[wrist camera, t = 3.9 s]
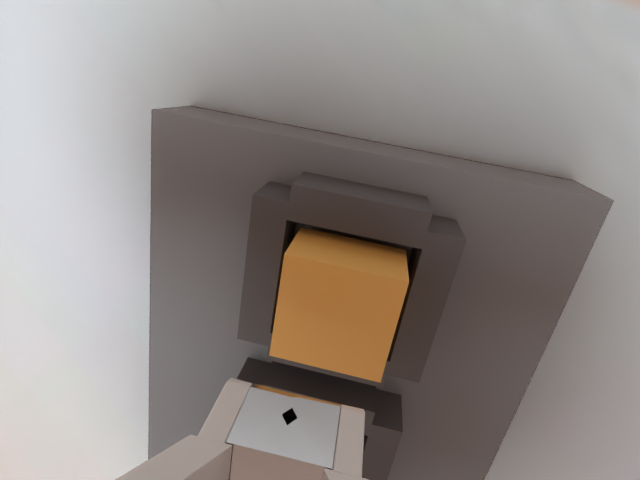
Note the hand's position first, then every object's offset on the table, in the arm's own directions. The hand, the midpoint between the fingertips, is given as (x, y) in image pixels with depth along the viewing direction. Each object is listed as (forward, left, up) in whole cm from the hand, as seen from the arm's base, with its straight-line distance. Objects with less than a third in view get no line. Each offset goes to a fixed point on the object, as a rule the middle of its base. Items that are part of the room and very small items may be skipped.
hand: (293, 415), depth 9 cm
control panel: (0, +8, -10) cm, 13 cm away
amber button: (0, 0, -6) cm, 6 cm away
